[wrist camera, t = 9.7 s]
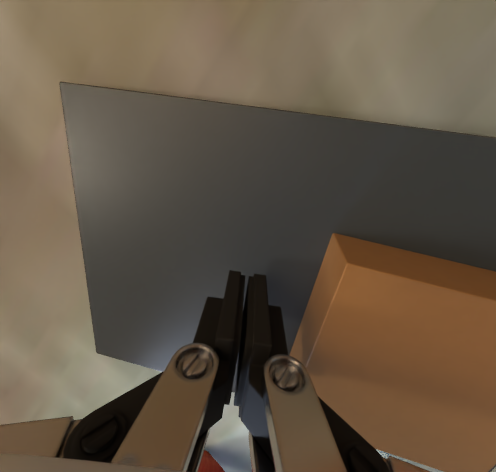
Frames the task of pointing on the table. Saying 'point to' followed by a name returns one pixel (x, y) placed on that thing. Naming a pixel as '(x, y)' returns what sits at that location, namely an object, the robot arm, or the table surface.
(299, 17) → the table surface
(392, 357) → the cardboard packet
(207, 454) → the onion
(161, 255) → the ramp
